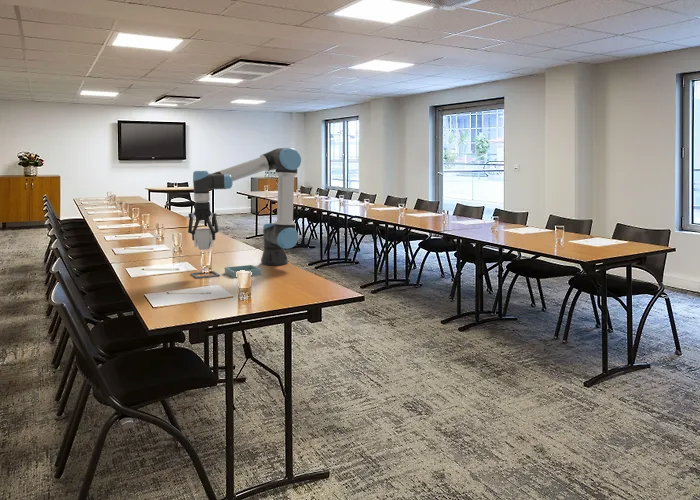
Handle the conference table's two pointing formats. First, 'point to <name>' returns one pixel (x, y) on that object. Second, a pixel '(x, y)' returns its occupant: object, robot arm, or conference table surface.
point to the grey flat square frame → (205, 276)
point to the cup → (203, 238)
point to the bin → (232, 270)
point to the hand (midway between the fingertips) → (204, 246)
